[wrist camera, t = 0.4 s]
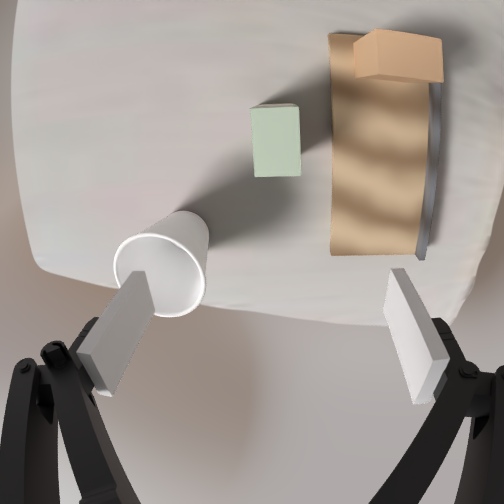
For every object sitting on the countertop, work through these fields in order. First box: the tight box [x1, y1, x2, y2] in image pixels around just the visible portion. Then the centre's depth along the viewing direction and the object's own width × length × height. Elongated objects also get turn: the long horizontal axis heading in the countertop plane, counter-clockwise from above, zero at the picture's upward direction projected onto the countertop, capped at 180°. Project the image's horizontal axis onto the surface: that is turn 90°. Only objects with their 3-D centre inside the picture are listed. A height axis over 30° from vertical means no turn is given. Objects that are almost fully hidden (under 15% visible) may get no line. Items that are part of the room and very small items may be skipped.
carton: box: [250, 103, 301, 177], centre depth 30 cm, size 4×6×9 cm, turn 4°
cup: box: [114, 211, 209, 317], centre depth 36 cm, size 10×10×11 cm
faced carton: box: [353, 29, 444, 83], centre depth 24 cm, size 4×6×9 cm, turn 94°
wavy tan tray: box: [328, 33, 441, 260], centre depth 32 cm, size 26×12×3 cm, turn 4°
